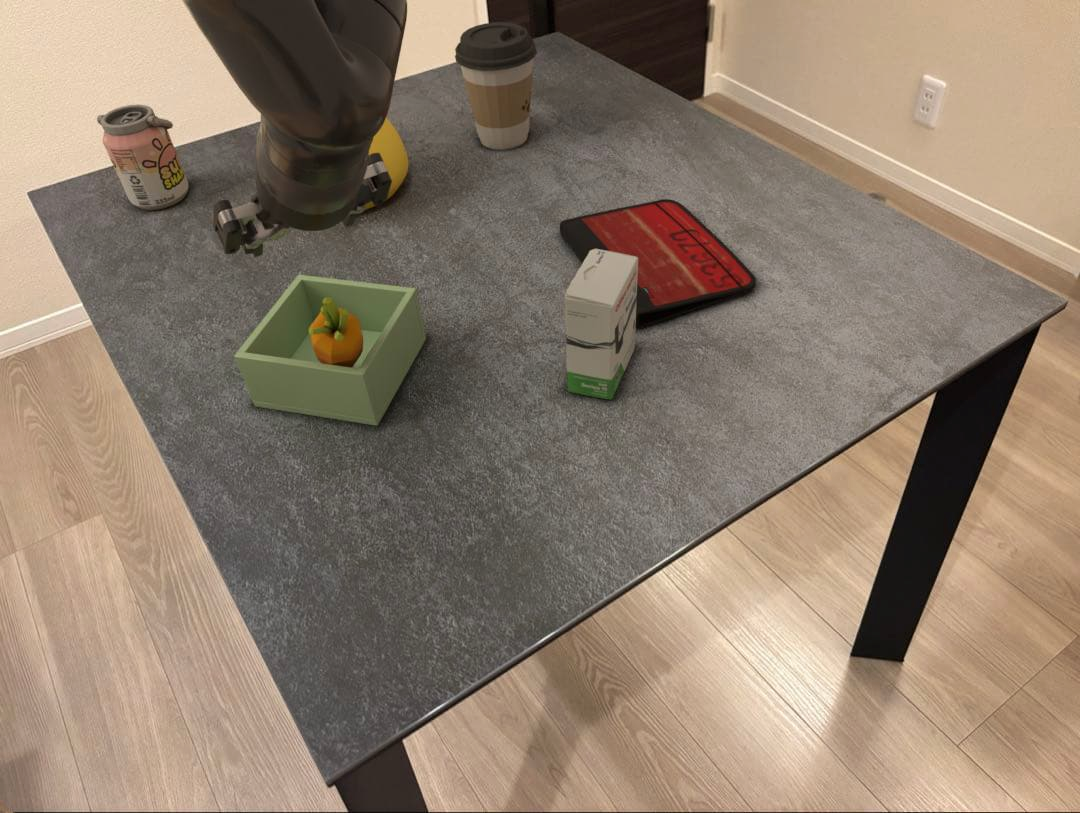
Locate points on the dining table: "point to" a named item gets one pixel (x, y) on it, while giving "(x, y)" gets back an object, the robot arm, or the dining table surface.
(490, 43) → the coffee cup
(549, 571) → the dining table surface
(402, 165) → the teapot
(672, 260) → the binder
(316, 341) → the carrot
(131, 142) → the beverage can
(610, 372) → the ink box
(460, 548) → the dining table surface
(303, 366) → the bin
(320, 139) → the robot arm
